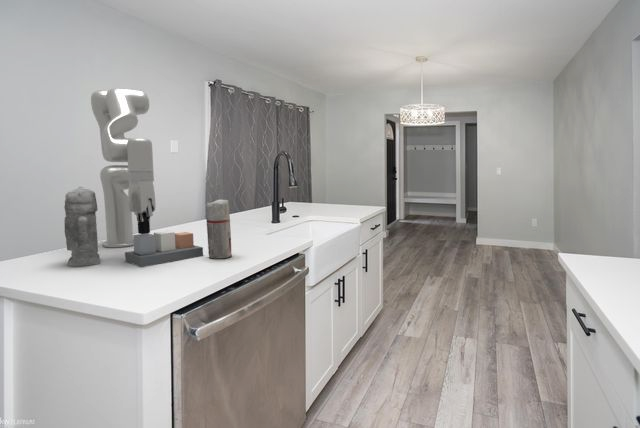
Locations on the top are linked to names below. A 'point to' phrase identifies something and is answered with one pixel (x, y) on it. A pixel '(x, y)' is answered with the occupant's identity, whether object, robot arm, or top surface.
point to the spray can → (218, 229)
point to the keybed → (163, 256)
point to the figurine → (81, 227)
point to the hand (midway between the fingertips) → (144, 233)
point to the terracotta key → (184, 240)
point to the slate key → (144, 244)
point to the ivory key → (165, 241)
